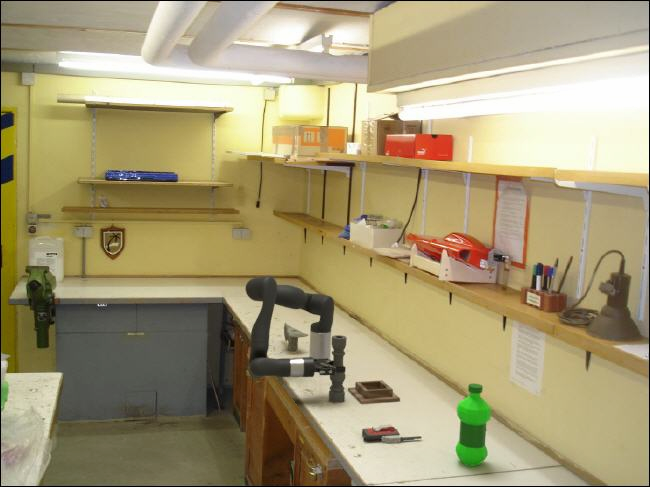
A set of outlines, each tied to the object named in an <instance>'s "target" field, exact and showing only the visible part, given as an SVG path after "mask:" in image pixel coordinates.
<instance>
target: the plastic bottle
mask: <svg viewBox="0 0 650 487" xmlns="http://www.w3.org/2000/svg"><path fill="white" fill-rule="evenodd" d="M483 388H484V387H483V385H482V384H479V383H469V384H468V387H467V391H468V392H469V395H468V396H467V397H465V398H463V400H461V401H460V402H458V404H457V406H456V414H457V416H458V419H459V420H460V422H459V424H460V425H459V439H458V442H457V444H456V446H455V453H456V456H457V457H458V459H459V460H460V461H461V462H462V464H464V465H466V466H468V467H477V466H479V465H480V464H482V463H483V462H484V461H485V460H486V459H487V456H488V454H489V453H488V448H487V446H486V434H487V433H486V432H487V423H488V422H489V421H490V420H491V417H492V408H491V407H490V405H489V404H488V403H487V402H486V401H485V400H484V398H483V397H481V394H482V393H483Z"/></svg>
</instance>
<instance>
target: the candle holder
mask: <svg viewBox="0 0 650 487" xmlns="http://www.w3.org/2000/svg"><path fill="white" fill-rule="evenodd" d="M346 346H347V336H345V335H340V334H339V335H338V334H337V335H331V348H332V350H331V355H332V356H333V357H332V358H333V366H335V367H337V366H344V356H345V355H346V352H345V349H346ZM331 371H332V370H331ZM329 379H330V381H331V386H329V391H328V401H329V402H330V403H333V404H334V403H335V404H336V403H337V404H338V403H344V402H345V400H346V399H345V398H346V392H345V386H344V382H345V380H346V371H345V372H343V373H335V375H329Z"/></svg>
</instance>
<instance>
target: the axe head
mask: <svg viewBox="0 0 650 487" xmlns="http://www.w3.org/2000/svg"><path fill="white" fill-rule="evenodd" d="M283 335H284V341H285V342H288V344H287V350H288V351H292V352H293V351H298V349H299V338H305V337H308V336H309V334H308V333H305V332H302V331H300V330H299V329H296V328H295V327H292V326H290V325H289V324H287V323H286V322H284V325H283Z"/></svg>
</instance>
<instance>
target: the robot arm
mask: <svg viewBox="0 0 650 487" xmlns="http://www.w3.org/2000/svg"><path fill="white" fill-rule="evenodd" d="M245 293H246V295H247V296H248V298H249V299H251V301H254V302H262V305H261V309H260V310H259V313H258V316H257V318H256V319H255V321H254V323H253V325H252V327H251V332H250V345H249V346H250V349H249V350H250V354H249V359H248V367H247V369H248V374H249V376H250V377H251V378H253V379H254V380H260V379H262V378H263V377H272V376H273V377H277V378H313V377H314V376H315V373H318V374H319V376H330V375H335V373H343V372H345V373H346V371H347V370H346V366H337V367H335V366H333V360H331V353H332V350H331V348H332V327H333V325H334V324H333V323H334V315H335V314H334V313H335V301H334V299H333V297H332V296H331V295H327V294H321V293H309V292H305V291H304V290H303V289H302V288H300V287H297V286H294V285H289V284H278V283H277V281H276V279H275V278H274V277H273V276H272V275H265V276H258V277H254V278H251V279H250V280H248V281H247V282H246V285H245ZM275 305H277V306H280V307H282V308H283V307H284V308H287V309H291V310H302V311H305V312H307V313H309V314H312V315H314V316H319V317H320V318H319V321H315V322H312V323H311V324H310V334H309V336H310V337H309V356H308V357H307V356H303V357H298V356H297V357H291V358H289V357H287V358H285V357H284V358H274V357H273V358H272V357H268V351H269V346H270V330H271V323H272V318H273V315H274V310H275ZM331 370H332V371H331Z"/></svg>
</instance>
